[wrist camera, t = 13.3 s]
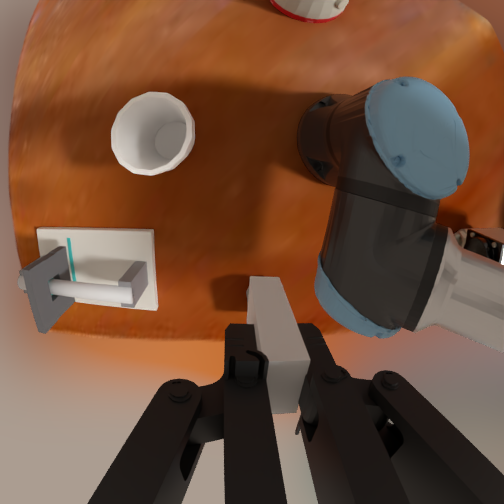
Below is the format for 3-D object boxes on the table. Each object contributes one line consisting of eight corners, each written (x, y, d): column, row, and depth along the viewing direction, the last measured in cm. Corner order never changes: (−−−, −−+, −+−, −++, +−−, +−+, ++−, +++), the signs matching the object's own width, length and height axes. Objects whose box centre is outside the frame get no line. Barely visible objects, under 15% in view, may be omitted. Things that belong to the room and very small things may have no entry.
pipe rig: (40, 227, 40) (5, 244, 30) (153, 229, 42) (131, 250, 32) (52, 294, 45) (24, 320, 34) (158, 306, 47) (142, 342, 36)
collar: (59, 246, 37) (21, 269, 27) (65, 246, 37) (28, 270, 27) (68, 300, 40) (38, 332, 30) (75, 301, 41) (45, 333, 30)
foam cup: (178, 99, 36) (156, 75, 24) (217, 141, 39) (210, 132, 27) (133, 141, 38) (96, 136, 25) (171, 183, 40) (145, 193, 28)
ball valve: (434, 261, 48) (491, 298, 31) (439, 220, 45) (503, 248, 28) (482, 254, 49) (532, 282, 32) (487, 220, 46) (542, 242, 29)
